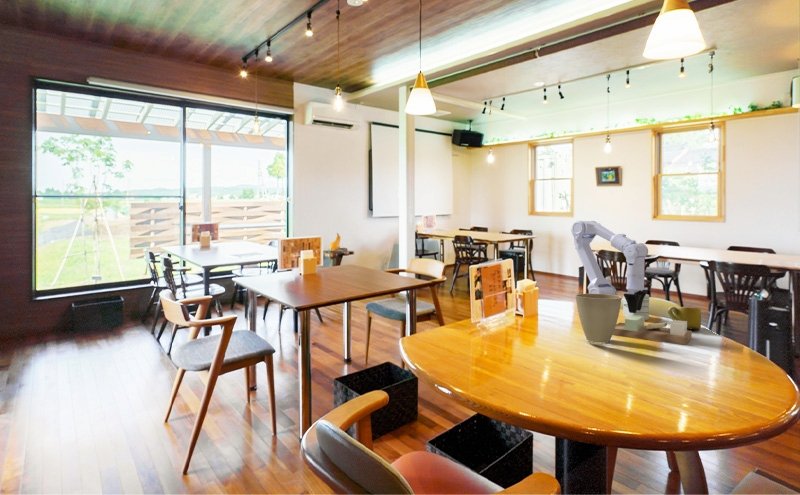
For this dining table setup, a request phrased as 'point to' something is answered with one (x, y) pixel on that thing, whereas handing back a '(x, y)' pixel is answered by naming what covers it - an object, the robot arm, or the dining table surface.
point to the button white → (678, 327)
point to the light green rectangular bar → (634, 322)
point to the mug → (687, 316)
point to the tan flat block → (656, 325)
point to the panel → (653, 334)
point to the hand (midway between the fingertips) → (635, 311)
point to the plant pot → (598, 315)
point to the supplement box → (642, 312)
